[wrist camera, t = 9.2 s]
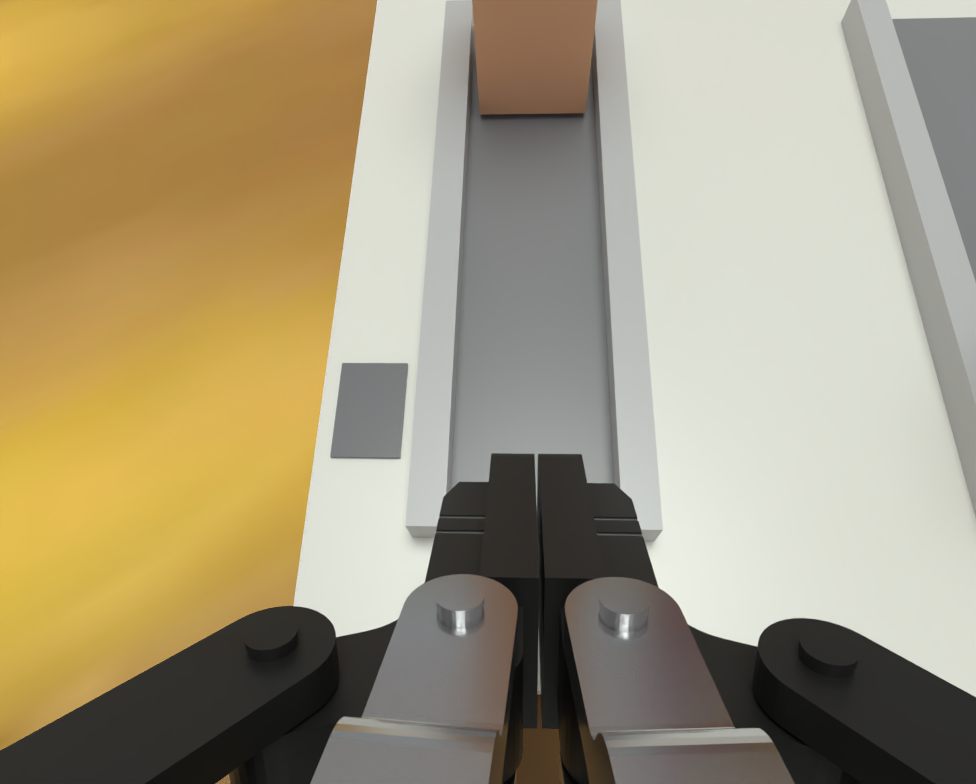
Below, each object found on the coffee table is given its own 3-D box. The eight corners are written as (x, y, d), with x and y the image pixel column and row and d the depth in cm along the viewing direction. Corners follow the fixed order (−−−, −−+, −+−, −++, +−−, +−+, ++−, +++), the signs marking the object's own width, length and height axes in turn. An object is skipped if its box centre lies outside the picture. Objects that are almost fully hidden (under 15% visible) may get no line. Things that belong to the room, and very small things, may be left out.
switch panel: (1337, 716, 15) (1521, 715, 12) (309, 687, 16) (266, 681, 13) (1026, 11, 24) (1091, -80, 21) (391, 23, 25) (375, -61, 22)
